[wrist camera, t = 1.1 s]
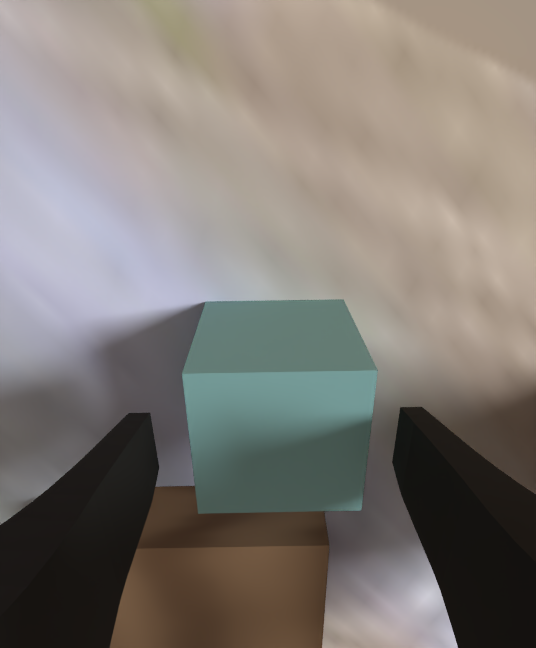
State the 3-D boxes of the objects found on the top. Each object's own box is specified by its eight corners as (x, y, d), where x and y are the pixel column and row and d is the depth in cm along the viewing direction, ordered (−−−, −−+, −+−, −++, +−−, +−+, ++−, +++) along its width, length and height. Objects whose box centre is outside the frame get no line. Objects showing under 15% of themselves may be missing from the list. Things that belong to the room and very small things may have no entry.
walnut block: (318, 476, 19) (329, 545, 16) (311, 619, 24) (318, 694, 21) (81, 480, 19) (45, 550, 16) (120, 623, 24) (98, 698, 21)
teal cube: (342, 298, 15) (377, 370, 11) (335, 410, 17) (361, 510, 13) (205, 300, 15) (181, 373, 11) (215, 412, 17) (198, 513, 13)
